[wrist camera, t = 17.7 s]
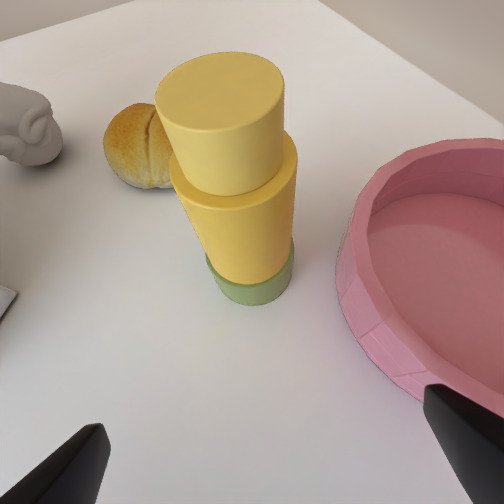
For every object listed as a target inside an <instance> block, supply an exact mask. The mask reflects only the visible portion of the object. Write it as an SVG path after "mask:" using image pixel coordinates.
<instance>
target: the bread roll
mask: <svg viewBox="0 0 504 504" xmlns="http://www.w3.org/2000/svg"><path fill="white" fill-rule="evenodd" d="M103 146H104V151H105V155H106V158H107V160H108V162H109V164H110V166H111V167H112V169H113V170H114V171H115V172H116V174H117V175H118V176H119V177H120V178H121V179H122V180H123V181H125V182H126V183H128V184H130V185H132V186H134V187H138V188H144V189H151V188H154V187H161V188H174V187H173V185H172V183H171V180H170V176H169V162H170V158H171V155H172V153H173V151H174V150H173V148H172V146H171V143H170V141H169V138H168V136H167V134H166V131H165V129H164V127H163V124H162V122H161V119H160V117H159V115H158V112H157V110H156V106H155V105H151V104H146V103H137V104H133V105H131V106H129V107H127V108H126V109H124V110H122V111H121V112H120V113H119V114H117V115H116V116H115V117H114V118H113V120H112V121H111V122H110V124H109V126H108V128H107V130H106V131H105V135H104V139H103Z"/></svg>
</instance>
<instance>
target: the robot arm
mask: <svg viewBox="0 0 504 504" xmlns="http://www.w3.org/2000/svg"><path fill="white" fill-rule="evenodd" d="M423 410H424V414H425V417H426V419H427V421H428V423H429V425H430V426H431V428H432V430H433V432H434V434H435V436H436V438H437V440H438V442H439V444H440V445H441V447H442V449H443V451H444V453H445V455H446V457H447V459H448V461H449V463H450V464H451V466H452V468H453V470H454V472H455V474H456V476H457V477H458V479H459V481H460V483H461V484H462V486H463V488H464V489H465V491H466V493H467V494H468V496H469V497H470V499H471V501H472V502H473V504H504V418H503V417H501V416H499V415H498V414H496V413H494V412H492V411H491V410H489V409H487V408H485V407H483V406H482V405H480V404H478V403H476V402H475V401H473V400H471V399H469V398H467V397H466V396H464V395H462V394H460V393H459V392H457V391H455V390H453V389H451V388H450V387H448V386H446V385H444V384H442V383H436V384H428V385H426V386H425V388H424V403H423ZM110 451H111V445H110V441H109V439H108V436H107V433H106V431H105V428H104V426H103V424H101V423H95V424H88V425H86V426H84V427H83V428H82V429H80V430H79V431H78V432H77V433H76V434H74V435H73V436H72V437H71V438H70V439H69V440H67V441H66V442H65V443H64V444H63V445H62V446H60V447H59V448H58V449H57V450H56V451H54V452H53V453H52V454H51V455H50V456H49V457H47V458H46V459H45V460H44V461H43V462H42V463H40V464H39V465H38V466H37V467H36V468H34V469H33V470H32V471H31V472H30V473H29V474H27V475H26V476H25V477H24V478H23V479H22V480H20V481H19V482H18V483H17V484H16V485H15V486H13V487H12V488H11V489H10V490H9V491H7V492H6V493H5V494H4V495H3V496H2V497H0V504H95V502H96V499H97V495H98V492H99V489H100V485H101V482H102V479H103V476H104V472H105V469H106V466H107V462H108V459H109V456H110Z"/></svg>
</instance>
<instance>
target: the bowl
mask: <svg viewBox="0 0 504 504" xmlns="http://www.w3.org/2000/svg"><path fill="white" fill-rule="evenodd" d="M336 286H337V293H338V297H339V301H340V305H341V308H342V311H343V313H344V316H345V318H346V321H347V323H348V325H349V327H350V329H351V331H352V332H353V334H354V336H355V338H356V339H357V341H358V342H359V344H360V345H361V347H362V348H363V349H364V351H365V352H366V354H367V355H368V356H369V357H370V358H371V359H372V361H373V362H374V363H375V364H376V365H377V366H378V368H379V369H380V370H381V371H383V372H384V373H385V374H386V375H387V376H388V377H389V378H390V379H391V380H392V381H393V382H394V383H395V384H397V385H398V386H399V387H401V388H402V389H403V390H405V391H406V392H407V393H409V394H410V395H411V396H413V397H414V398H416V399H418V400H419V401H421V402H423V403H424V388H425V386H426V385H428V384H436V383H442V384H444V385H446V386H448V387H450V388H451V389H453V390H455V391H457V392H459V393H460V394H462V395H464V396H466V397H467V398H469V399H471V400H473V401H475V402H476V403H478V404H480V405H482V406H483V407H485V408H487V409H489V410H491V411H492V412H494V413H496V414H498V415H499V416H501V417H503V418H504V140H498V139H492V138H477V139H454V140H445V141H444V140H443V141H440V142H436V143H432V144H429V145H425V146H422V147H418V148H415V149H411V150H409V151H406V152H404V153H403V154H401V155H400V156H398V157H396V158H395V159H393V160H392V161H390V162H389V163H387V164H385V165H384V166H382V167H381V168H379V169H378V170H377V171H376V173H375V174H374V175H373V177H372V178H371V179H370V181H369V182H368V183H367V185H366V186H365V187H364V189H363V190H362V191H361V193H360V194H359V196H358V198H357V200H356V203H355V206H354V208H353V211H352V213H351V216H350V218H349V221H348V223H347V226H346V228H345V231H344V234H343V237H342V241H341V245H340V248H339V251H338V256H337V261H336Z"/></svg>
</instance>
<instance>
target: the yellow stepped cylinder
mask: <svg viewBox="0 0 504 504" xmlns="http://www.w3.org/2000/svg"><path fill="white" fill-rule="evenodd" d="M155 106H156V110H157V112H158V115H159V117H160V119H161V122H162V124H163V127H164V129H165V131H166V134H167V136H168V138H169V141H170V143H171V146H172V148H173V150H174V151H173V153H172V155H171V158H170V162H169V176H170V180H171V183H172V185H173V187H174V189H175V191H176V193H177V195H178V197H179V199H180V201H181V203H182V205H183V207H184V209H185V211H186V213H187V215H188V217H189V219H190V221H191V223H192V225H193V227H194V230H195V232H196V234H197V236H198V238H199V240H200V242H201V244H202V246H203V248H204V250H205V255H206V260H207V264H208V266H209V268H210V270H211V272H212V274H213V276H214V278H215V280H216V282H217V283H218V285H219V287H220V289H221V290H222V292H223V293H224V294H225V295H226V296H227V297H228V298H230V299H231V300H233V301H235V302H237V303H240V304H243V305H251V306H254V305H261V304H265V303H268V302H270V301H272V300H274V299H275V298H277V297H278V296H279V295H281V294H282V293H283V291H284V290H285V289H286V287H287V286H288V284H289V281H290V278H291V273H292V265H293V255H294V242H293V238H292V223H293V211H294V198H295V186H296V174H297V161H298V159H297V150H296V147H295V145H294V142H293V140H292V139H291V137H290V136H289V135H288V134H287V132H286V131H284V79H283V76H282V74H281V72H280V70H279V69H278V68H277V67H276V66H275V65H274V64H273V63H272V62H270V61H269V60H267V59H265V58H263V57H260V56H257V55H254V54H250V53H244V52H219V53H213V54H208V55H204V56H200V57H197V58H194V59H192V60H189V61H187V62H185V63H183V64H181V65H180V66H178V67H176V68H175V69H173V70H172V71H171V72H170V73H168V74H167V75H166V76H165V77H164V79H163V80H162V81H161V82H160V84H159V86H158V88H157V90H156V94H155Z"/></svg>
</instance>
